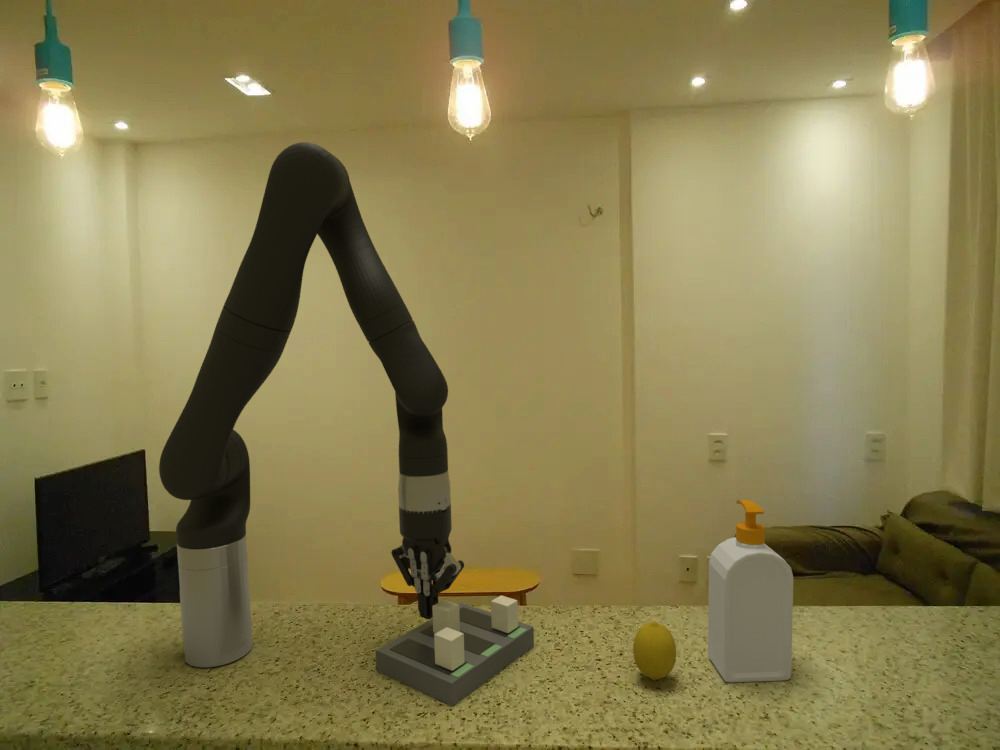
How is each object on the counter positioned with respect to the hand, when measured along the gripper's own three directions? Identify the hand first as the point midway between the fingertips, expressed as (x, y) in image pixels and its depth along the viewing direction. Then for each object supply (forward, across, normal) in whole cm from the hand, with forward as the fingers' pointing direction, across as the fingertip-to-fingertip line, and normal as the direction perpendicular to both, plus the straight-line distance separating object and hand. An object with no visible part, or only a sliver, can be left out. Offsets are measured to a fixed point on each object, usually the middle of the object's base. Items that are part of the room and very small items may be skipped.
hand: (428, 616), depth 96 cm
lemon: (+5, +31, +11) cm, 33 cm away
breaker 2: (+1, +10, +6) cm, 11 cm away
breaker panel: (+5, +6, 0) cm, 7 cm away
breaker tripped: (+1, +4, 0) cm, 4 cm away
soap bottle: (+5, +40, +20) cm, 45 cm away
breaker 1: (+1, +10, -6) cm, 12 cm away
